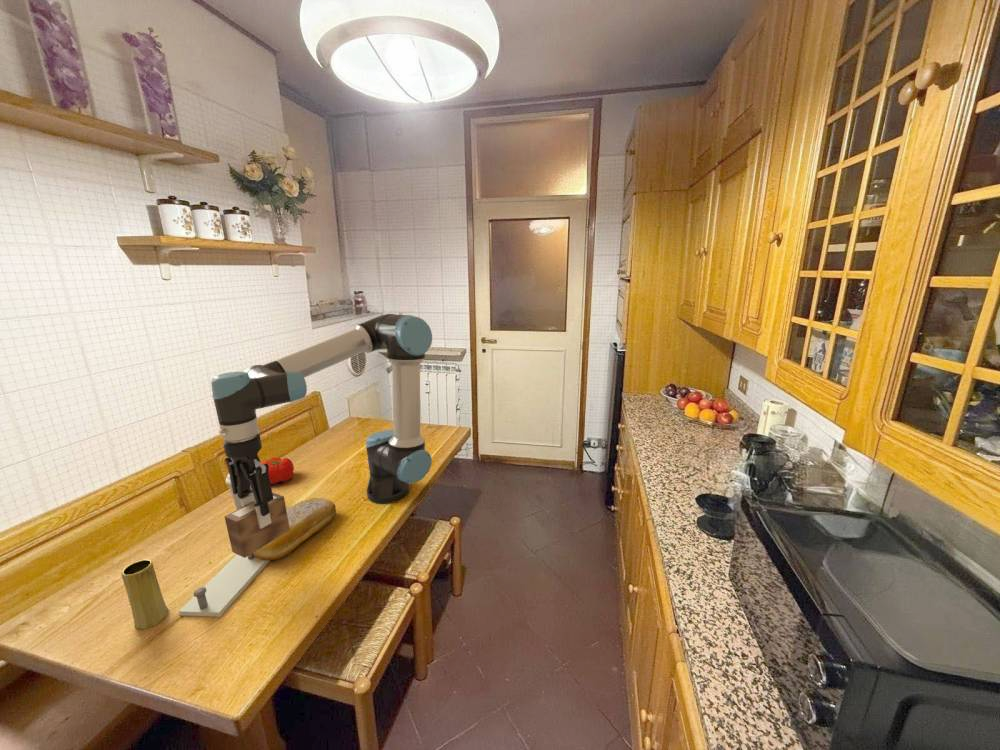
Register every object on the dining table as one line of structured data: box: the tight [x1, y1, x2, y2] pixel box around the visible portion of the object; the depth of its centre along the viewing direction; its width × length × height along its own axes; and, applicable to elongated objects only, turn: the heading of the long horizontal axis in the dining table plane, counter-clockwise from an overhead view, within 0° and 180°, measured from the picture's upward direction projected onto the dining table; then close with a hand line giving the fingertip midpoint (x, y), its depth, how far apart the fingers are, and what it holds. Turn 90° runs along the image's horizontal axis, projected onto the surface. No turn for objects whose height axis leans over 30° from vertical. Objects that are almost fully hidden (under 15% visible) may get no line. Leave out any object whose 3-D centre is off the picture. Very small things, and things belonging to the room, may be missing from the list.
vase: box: [121, 559, 170, 630], centre depth 92 cm, size 6×6×14 cm
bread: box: [253, 497, 337, 561], centre depth 122 cm, size 13×26×8 cm, turn 164°
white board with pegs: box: [178, 553, 271, 618], centre depth 103 cm, size 10×20×6 cm, turn 176°
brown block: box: [224, 491, 290, 558], centre depth 101 cm, size 12×5×10 cm, turn 153°
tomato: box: [261, 456, 295, 485], centre depth 155 cm, size 13×12×8 cm
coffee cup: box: [225, 472, 255, 510], centre depth 134 cm, size 10×10×15 cm
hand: (258, 522), depth 101 cm, fingers closed on brown block, 5 cm apart
